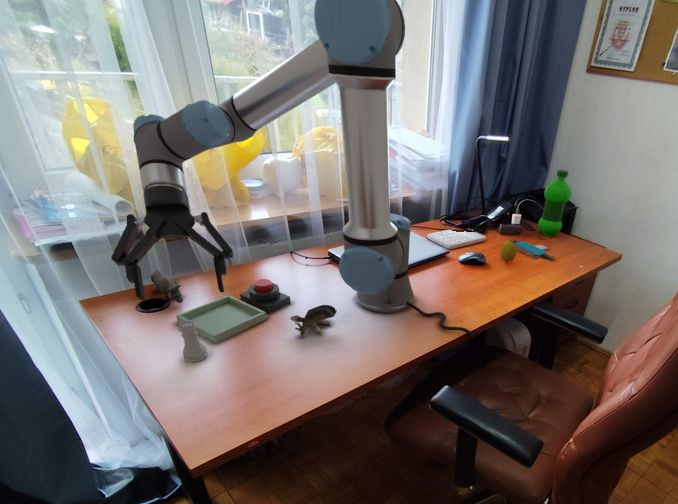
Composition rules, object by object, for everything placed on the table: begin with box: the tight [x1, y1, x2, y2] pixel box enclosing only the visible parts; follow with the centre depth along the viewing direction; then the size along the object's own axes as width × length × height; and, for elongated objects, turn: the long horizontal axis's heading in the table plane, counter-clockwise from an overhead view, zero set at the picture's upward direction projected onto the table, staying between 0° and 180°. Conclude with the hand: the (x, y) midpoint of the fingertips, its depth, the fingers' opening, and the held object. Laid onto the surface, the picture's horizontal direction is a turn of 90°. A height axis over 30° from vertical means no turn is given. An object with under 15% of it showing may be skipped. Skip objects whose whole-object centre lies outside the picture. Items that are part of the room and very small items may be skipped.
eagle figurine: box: [290, 304, 338, 338], centre depth 96 cm, size 8×7×9 cm
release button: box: [253, 278, 273, 293], centre depth 103 cm, size 4×4×2 cm
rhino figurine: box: [150, 269, 184, 304], centre depth 101 cm, size 4×14×6 cm, turn 49°
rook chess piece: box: [177, 320, 209, 363], centre depth 83 cm, size 4×4×8 cm
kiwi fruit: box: [499, 240, 518, 264], centre depth 142 cm, size 6×6×8 cm
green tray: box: [175, 294, 268, 344], centre depth 97 cm, size 13×13×2 cm
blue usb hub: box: [512, 239, 554, 261], centre depth 157 cm, size 20×12×2 cm, turn 38°
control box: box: [239, 282, 292, 314], centre depth 105 cm, size 10×7×4 cm
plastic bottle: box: [537, 169, 572, 237], centre depth 168 cm, size 10×10×25 cm
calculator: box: [426, 229, 487, 250], centre depth 158 cm, size 13×20×2 cm, turn 133°
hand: (182, 294), depth 81 cm, fingers open, 13 cm apart
